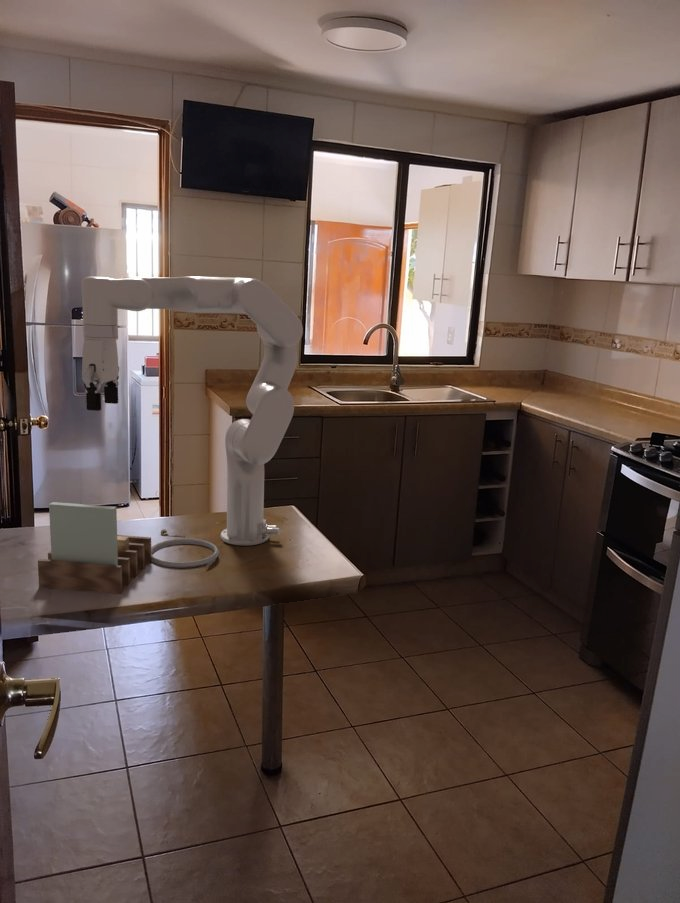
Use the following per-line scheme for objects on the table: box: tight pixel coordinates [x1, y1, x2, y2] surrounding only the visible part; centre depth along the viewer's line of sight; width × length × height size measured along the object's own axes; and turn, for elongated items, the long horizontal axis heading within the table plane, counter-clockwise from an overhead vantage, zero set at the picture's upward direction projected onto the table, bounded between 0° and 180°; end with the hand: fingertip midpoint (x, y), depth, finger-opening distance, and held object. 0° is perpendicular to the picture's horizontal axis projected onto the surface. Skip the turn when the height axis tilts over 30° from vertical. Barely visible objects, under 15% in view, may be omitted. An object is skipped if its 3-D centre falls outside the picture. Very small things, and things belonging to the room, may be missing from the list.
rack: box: [37, 534, 153, 595], centre depth 166 cm, size 18×19×7 cm
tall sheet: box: [48, 501, 118, 565], centre depth 158 cm, size 14×2×18 cm, turn 84°
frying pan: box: [151, 528, 220, 569], centre depth 184 cm, size 17×3×28 cm
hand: (103, 406), depth 172 cm, fingers open, 9 cm apart
